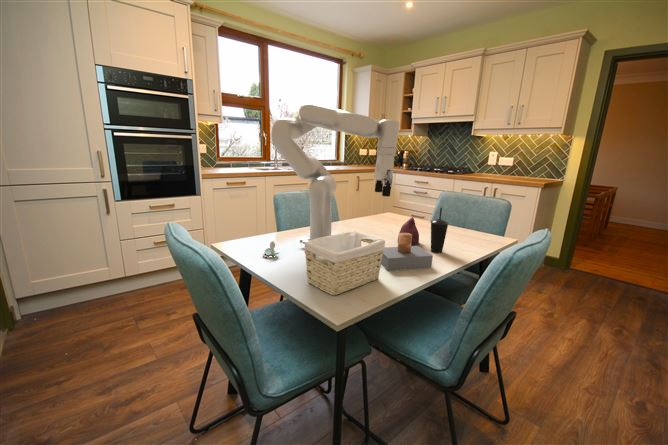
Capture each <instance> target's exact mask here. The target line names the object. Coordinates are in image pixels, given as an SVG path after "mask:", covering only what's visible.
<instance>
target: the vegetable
mask: <svg viewBox="0 0 668 445" xmlns="http://www.w3.org/2000/svg"><path fill="white" fill-rule="evenodd" d="M399 233H410V234H412V242H411V246H419V242H420V233H419V231H418V228H417V225H416V222H415V219H414V217H413V216H411V217H410V218H409V219H408V220H407V221H405V222H404V223H403V224H402V225H401V228H400V229H399V232H398V236H397V241H398V240H399Z"/></svg>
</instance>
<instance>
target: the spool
mask: <svg viewBox="0 0 668 445" xmlns="http://www.w3.org/2000/svg"><path fill="white" fill-rule="evenodd" d="M398 235H399V240H398V239H397V247H398V252H399V253H403V254H409V253H411V242H412V234H410V233H399V232H398Z"/></svg>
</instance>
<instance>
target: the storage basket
mask: <svg viewBox="0 0 668 445" xmlns="http://www.w3.org/2000/svg"><path fill="white" fill-rule="evenodd" d="M362 242H363V243H366V244H365V245H362ZM385 246H386V240H385V239H384V238H379V237H376V236H373V235H371V234H367V233H363V232H359V231H356V230H354V231H345V232H341V233H335V234H331V236H326V237H321V238H316V239H313V240H309V241H306V242H305V244H304V254H305V266H306V279H307V282H308V283H309V284H311V285H312V286H315V288H319V289H320V290H321V291H323V292H326V293H327V294H329V295H331V296H337V295H339V294H342V293H346V292H347V291H350V290H353V289H354V288H358V287H361V286H364V285H366V284H368V283H369V282H373V281H376V280H378V279H379V276H380V271H381V267H382V265H381V261H382V256H383V251H384V248H385Z"/></svg>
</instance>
